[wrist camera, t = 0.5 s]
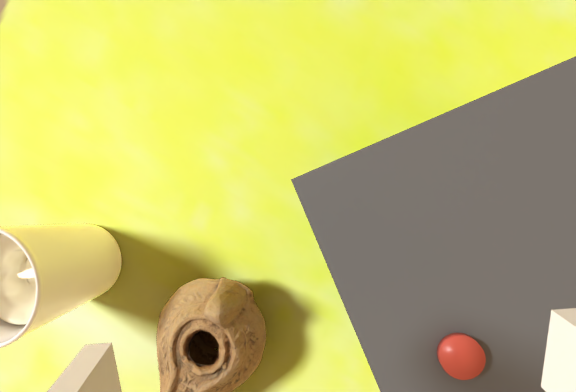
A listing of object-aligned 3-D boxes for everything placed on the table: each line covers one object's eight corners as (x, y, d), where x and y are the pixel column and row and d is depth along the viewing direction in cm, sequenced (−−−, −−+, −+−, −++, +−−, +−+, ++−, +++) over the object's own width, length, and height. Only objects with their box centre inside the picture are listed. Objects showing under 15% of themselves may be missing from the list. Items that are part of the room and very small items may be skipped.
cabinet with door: (308, 185, 36) (290, 179, 21) (478, 113, 34) (601, 44, 18) (384, 365, 35) (425, 499, 20) (564, 302, 33) (770, 398, 17)
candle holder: (145, 251, 38) (61, 277, 27) (97, 320, 39) (-6, 375, 27) (80, 199, 39) (-30, 201, 28) (34, 267, 40) (-92, 298, 28)
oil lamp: (157, 388, 38) (111, 439, 30) (185, 256, 38) (146, 273, 30) (251, 418, 37) (229, 479, 29) (282, 282, 36) (268, 306, 29)
